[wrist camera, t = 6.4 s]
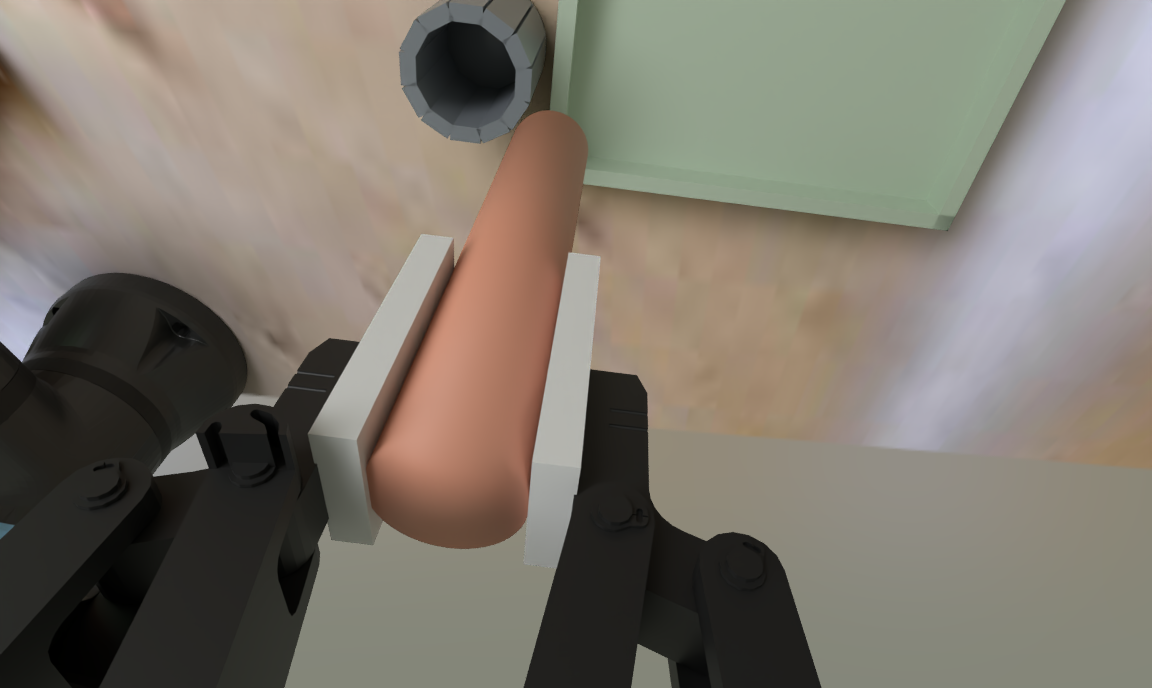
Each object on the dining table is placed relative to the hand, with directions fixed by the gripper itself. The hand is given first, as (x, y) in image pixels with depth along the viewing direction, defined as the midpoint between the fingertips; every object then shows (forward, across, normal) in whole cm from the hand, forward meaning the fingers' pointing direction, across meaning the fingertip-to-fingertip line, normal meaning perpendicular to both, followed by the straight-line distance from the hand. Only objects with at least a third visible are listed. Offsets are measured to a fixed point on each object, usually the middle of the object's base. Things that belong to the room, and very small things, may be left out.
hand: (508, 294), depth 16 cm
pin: (+10, +1, 0) cm, 10 cm away
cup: (+28, -6, -1) cm, 29 cm away
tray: (+28, +12, +1) cm, 31 cm away
